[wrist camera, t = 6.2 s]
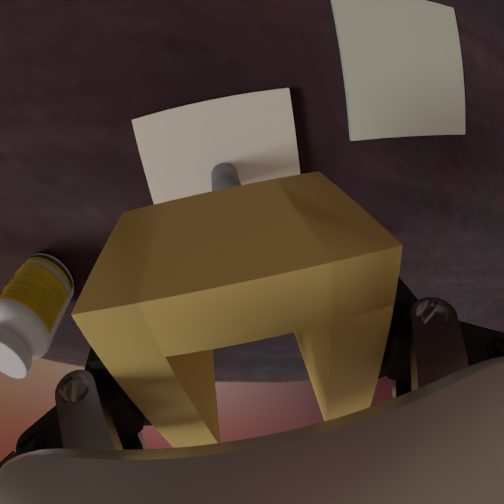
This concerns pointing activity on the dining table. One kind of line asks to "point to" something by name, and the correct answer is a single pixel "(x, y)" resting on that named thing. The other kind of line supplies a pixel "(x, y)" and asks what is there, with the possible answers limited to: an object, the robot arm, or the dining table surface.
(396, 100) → the mat
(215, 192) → the c link
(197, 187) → the stand
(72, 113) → the dining table surface
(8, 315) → the pill bottle
